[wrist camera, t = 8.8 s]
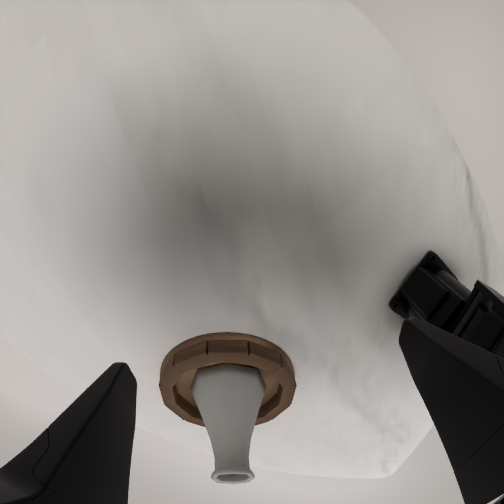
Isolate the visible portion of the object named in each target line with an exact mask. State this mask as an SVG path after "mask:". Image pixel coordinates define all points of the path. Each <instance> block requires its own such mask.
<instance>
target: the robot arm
mask: <svg viewBox="0 0 504 504" xmlns="http://www.w3.org/2000/svg"><path fill="white" fill-rule="evenodd" d="M431 257H432V258H431ZM474 286H475V287H474V289H473V290H472V292H471V291H470V290H469V289H467V288H466V287H465V286H464V285H463V284H461V283H460V282H459V281H458V279H457V278H456V277H455V276H454V274H453V273H452V272H451V271H450V269H449V268H448V267H447V266H446V265H445V264H444V262H443V261H442V260H441V259H440V258H439V257H438V255H437V254H436V253H434V252H433V251H430V252H429V253H428V254H427V255H426V257H425V258H424V260H423V261H422V262H421V264H420V265H419V266H418V268H417V269H416V270H415V272H414V273H413V274H412V276H411V277H410V278H409V279H408V281H407V282H406V283H405V285H404V286H403V287H402V288H401V290H400V291H399V292H398V293H397V294H396V296H395V297H394V298H393V299H392V301H391V302H390V303H389V307H390V308H391V309H392V310H393V311H394V312H396V313H397V314H399V315H400V316H402V317H403V318H405V320H404V321H403V324H402V328H401V332H400V335H399V345H400V347H401V350H402V352H403V355H404V357H405V360H406V362H407V365H408V368H409V370H410V373H411V375H412V378H413V380H414V382H415V385H416V387H417V389H418V391H419V393H420V395H421V397H422V399H423V401H424V403H425V405H426V407H427V409H428V411H429V414H430V416H431V418H432V420H433V422H434V424H435V426H436V429H437V431H438V433H439V436H440V438H441V440H442V443H443V445H444V448H445V450H446V453H447V455H448V458H449V460H450V462H451V465H452V468H453V470H454V474H455V476H456V479H457V482H458V484H459V488H460V490H461V493H462V496H463V499H464V502H465V504H487V503H489V502H490V501H492V500H494V499H496V498H497V497H499V496H500V495H502V494H504V297H503V296H502V295H501V294H499V293H498V292H497V291H495V290H494V289H492V288H491V287H489V286H487V285H486V284H484V283H482V282H481V281H479V280H477V281H476V283H475V285H474ZM136 394H137V382H136V379H135V377H134V375H133V373H132V372H131V370H130V368H129V366H128V365H127V364H126V363H124V362H116V363H113V364H112V365H111V366H110V367H109V368H108V369H107V370H106V371H105V372H104V373H103V374H102V375H101V376H100V377H99V378H98V379H97V380H96V381H95V382H94V383H92V384H91V385H90V386H89V387H88V388H87V389H86V390H85V391H84V392H83V393H82V394H81V395H80V396H79V397H78V398H77V399H76V400H75V401H74V402H73V403H72V404H71V405H70V406H69V407H68V408H67V409H66V410H65V411H64V412H63V413H62V414H61V415H60V416H59V417H58V418H57V419H56V420H55V421H54V422H53V423H52V424H51V425H50V426H49V427H48V428H47V429H46V430H45V431H44V432H43V433H42V434H41V435H40V436H38V437H37V438H36V439H35V440H34V441H33V442H32V443H31V444H30V445H29V446H28V447H26V448H25V449H24V450H23V451H22V452H20V453H19V454H18V455H17V456H15V457H14V458H13V459H12V460H11V461H9V462H8V463H7V464H6V465H4V466H3V467H2V468H0V504H128V488H129V476H130V465H131V455H132V446H133V439H134V431H135V420H136ZM494 504H504V495H503V496H502V497H501V498H500V499H498V500H497V501H496V502H495V503H494Z"/></svg>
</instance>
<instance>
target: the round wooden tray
mask: <svg viewBox="0 0 504 504" xmlns="http://www.w3.org/2000/svg"><path fill="white" fill-rule="evenodd" d="M226 363H229V364H234V365H239V366H244V367H249V368H255V369H258V370H259V372H260V374H261V376H262V379H263V381H264V383H265V385H266V389H265V393H264V396H263V400H262V403H261V406H260V409H259V412H258V415H257V419H256V422H255V425H258V424H262V423H265V422H268V421H270V420H272V419H274V418H275V417H276V416H278V415H279V414H280V413H281V412H283V411H284V410H285V409H287V408H288V407H289V406H290V404H291V403H292V400H293V396H294V393H295V389H296V382H295V376H294V370H293V366H292V363H291V361H290V359H289V357H288V356H287V355H286V354H285V352H283V351H282V350H281V349H280V348H279V347H277V346H276V345H274V344H273V343H271V342H269V341H267V340H264V339H261V338H259V337H255V336H251V335H247V334H240V333H213V334H206V335H202V336H198V337H195V338H192V339H189V340H187V341H185V342H183V343H181V344H179V345H178V346H176V347H175V348H174V349H173V350H171V351H170V352H169V353H168V355H167V356H166V357H165V359H164V361H163V363H162V367H161V371H160V382H159V388H160V391H161V395H162V398H163V402H164V404H165V406H167V407H168V408H169V409H170V410H171V411H173V412H174V413H175V414H177V415H178V416H179V417H180V418H182V419H183V420H185V421H187V422H191V423H194V424H197V425H200V426H204V427H205V424H204V421H203V419H202V416H201V414H200V411H199V409H198V406H197V404H196V401H195V399H194V396H193V394H192V391H191V385H192V382H193V380H194V377H195V374H196V371H197V370H199V369H204V368H208V367H213V366H217V365H222V364H226Z"/></svg>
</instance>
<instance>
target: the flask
mask: <svg viewBox="0 0 504 504" xmlns="http://www.w3.org/2000/svg"><path fill="white" fill-rule="evenodd" d="M265 389H266V385H265V383H264V381H263V379H262V376H261V374H260V372H259V370H258V369H255V368H249V367H244V366H239V365H234V364H229V363H226V364H222V365H217V366H213V367H208V368H204V369H199V370H197V371H196V374H195V377H194V380H193V382H192V385H191V391H192V394H193V396H194V399H195V401H196V404H197V406H198V409H199V411H200V414H201V416H202V419H203V421H204V424H205V427H206V429H207V432H208V434H209V437H210V439H211V444H212V448H213V452H214V457H215V471H214V472H213V473H212V476H211V478H212V479H213V480H214V481H216V482H217V483H227V484H238V483H246V482H250V481H251V480H252V479H253V478H254V473H253V472H252V471H251V470H250V467H249V449H250V440H251V436H252V432H253V429H254V426H255V422H256V419H257V415H258V412H259V409H260V406H261V403H262V400H263V396H264V393H265Z"/></svg>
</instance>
